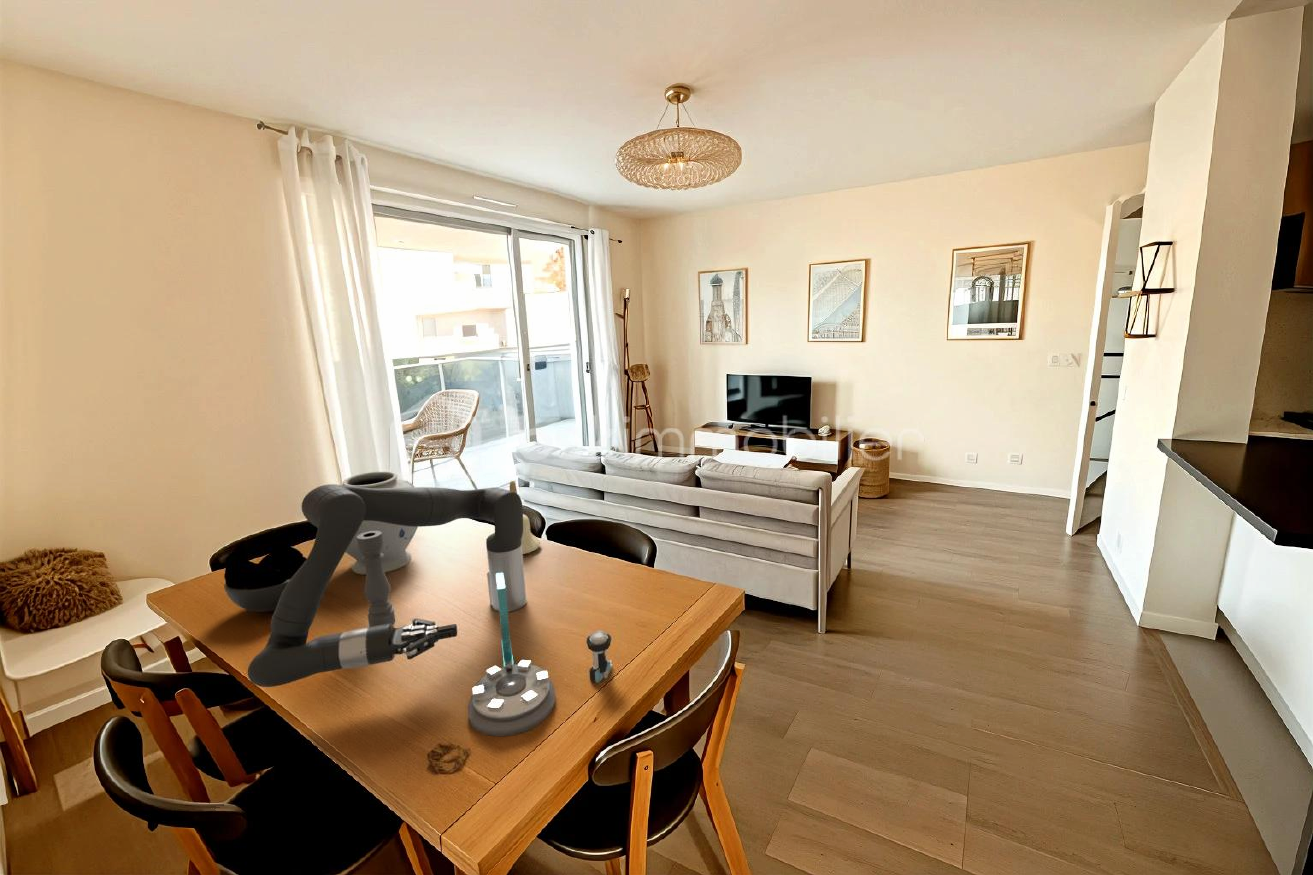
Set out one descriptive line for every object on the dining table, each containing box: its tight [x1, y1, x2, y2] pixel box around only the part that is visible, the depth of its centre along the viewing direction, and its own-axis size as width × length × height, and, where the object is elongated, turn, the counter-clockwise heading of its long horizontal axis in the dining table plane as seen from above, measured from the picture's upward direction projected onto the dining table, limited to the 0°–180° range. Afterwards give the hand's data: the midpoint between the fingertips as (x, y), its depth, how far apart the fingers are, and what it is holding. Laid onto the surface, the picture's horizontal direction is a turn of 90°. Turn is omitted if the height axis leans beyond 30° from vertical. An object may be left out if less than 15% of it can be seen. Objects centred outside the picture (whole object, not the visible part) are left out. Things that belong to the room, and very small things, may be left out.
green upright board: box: [471, 573, 550, 722], centre depth 112 cm, size 26×15×19 cm, turn 19°
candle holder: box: [357, 531, 396, 627], centre depth 140 cm, size 6×6×25 cm
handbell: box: [509, 480, 541, 555], centre depth 185 cm, size 15×15×25 cm
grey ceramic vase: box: [341, 471, 419, 576], centre depth 176 cm, size 27×27×30 cm
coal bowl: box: [223, 538, 307, 613], centre depth 151 cm, size 20×20×19 cm
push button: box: [586, 630, 613, 684], centre depth 118 cm, size 7×5×10 cm
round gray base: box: [467, 678, 556, 737], centre depth 110 cm, size 17×17×2 cm
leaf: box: [426, 741, 471, 775], centre depth 96 cm, size 6×7×2 cm
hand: (456, 629), depth 116 cm, fingers closed
